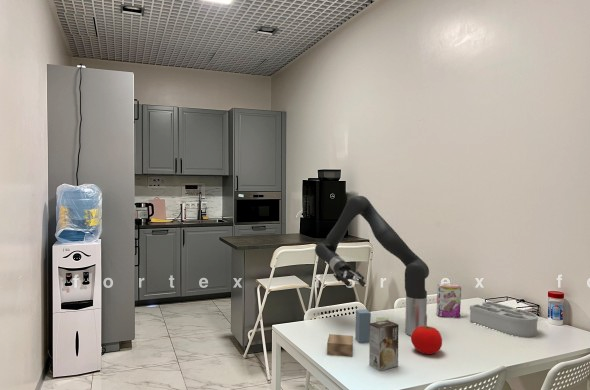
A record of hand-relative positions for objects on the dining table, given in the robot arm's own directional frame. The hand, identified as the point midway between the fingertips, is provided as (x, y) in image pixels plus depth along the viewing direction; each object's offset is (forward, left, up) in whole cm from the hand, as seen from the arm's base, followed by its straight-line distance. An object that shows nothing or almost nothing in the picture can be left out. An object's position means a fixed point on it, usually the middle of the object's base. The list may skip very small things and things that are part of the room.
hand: (356, 284), depth 194 cm
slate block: (-3, +10, -22) cm, 24 cm away
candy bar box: (-47, -34, -22) cm, 62 cm away
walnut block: (+6, +23, -22) cm, 33 cm away
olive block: (-11, +20, -22) cm, 32 cm away
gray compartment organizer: (-71, -21, -23) cm, 78 cm away
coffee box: (-11, +34, -22) cm, 42 cm away
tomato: (-29, +17, -22) cm, 40 cm away
